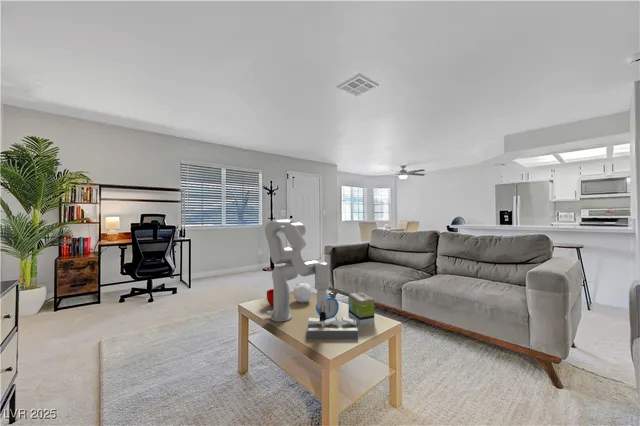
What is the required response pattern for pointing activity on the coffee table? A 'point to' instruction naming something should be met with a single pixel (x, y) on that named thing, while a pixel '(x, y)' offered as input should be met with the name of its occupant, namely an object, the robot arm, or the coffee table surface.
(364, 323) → the tea box
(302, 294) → the geodesic sphere
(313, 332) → the switch console
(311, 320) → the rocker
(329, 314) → the alarm clock
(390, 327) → the coffee table surface
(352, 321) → the rocker
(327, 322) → the plate
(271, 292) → the ceramic cup
